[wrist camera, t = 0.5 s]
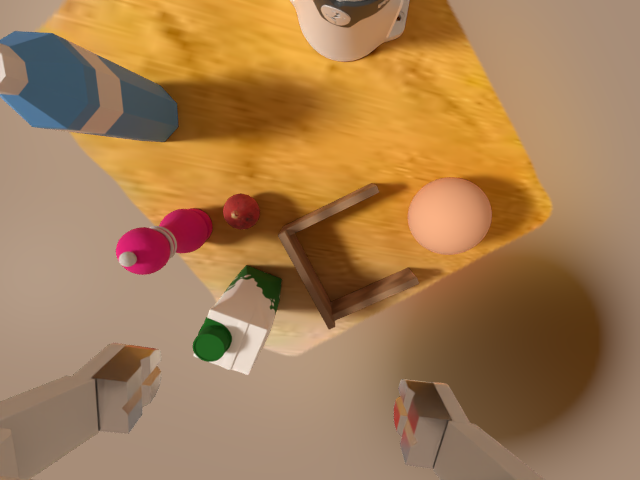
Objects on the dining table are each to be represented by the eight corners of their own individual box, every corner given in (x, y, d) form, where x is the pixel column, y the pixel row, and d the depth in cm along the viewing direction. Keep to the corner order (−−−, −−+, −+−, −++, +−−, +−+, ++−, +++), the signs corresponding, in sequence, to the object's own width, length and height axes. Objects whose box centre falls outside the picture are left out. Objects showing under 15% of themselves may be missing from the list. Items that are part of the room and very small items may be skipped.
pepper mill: (223, 230, 53) (168, 269, 34) (193, 252, 54) (122, 301, 35) (197, 197, 52) (123, 218, 32) (166, 220, 53) (77, 254, 33)
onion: (269, 204, 52) (260, 211, 44) (252, 230, 53) (241, 242, 45) (241, 185, 51) (227, 189, 43) (224, 212, 52) (208, 221, 44)
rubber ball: (415, 166, 50) (444, 166, 38) (479, 189, 51) (526, 196, 39) (389, 231, 53) (408, 250, 41) (449, 251, 54) (485, 275, 42)
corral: (371, 183, 51) (378, 186, 44) (410, 272, 55) (423, 288, 48) (283, 226, 53) (277, 235, 46) (328, 309, 57) (328, 329, 50)
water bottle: (111, 94, 47) (-106, 23, 23) (163, 73, 47) (-6, -25, 22) (139, 151, 50) (-33, 140, 25) (189, 132, 49) (60, 101, 25)
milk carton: (243, 258, 54) (200, 311, 35) (288, 276, 55) (271, 337, 36) (228, 298, 56) (180, 369, 37) (272, 315, 57) (248, 392, 38)
